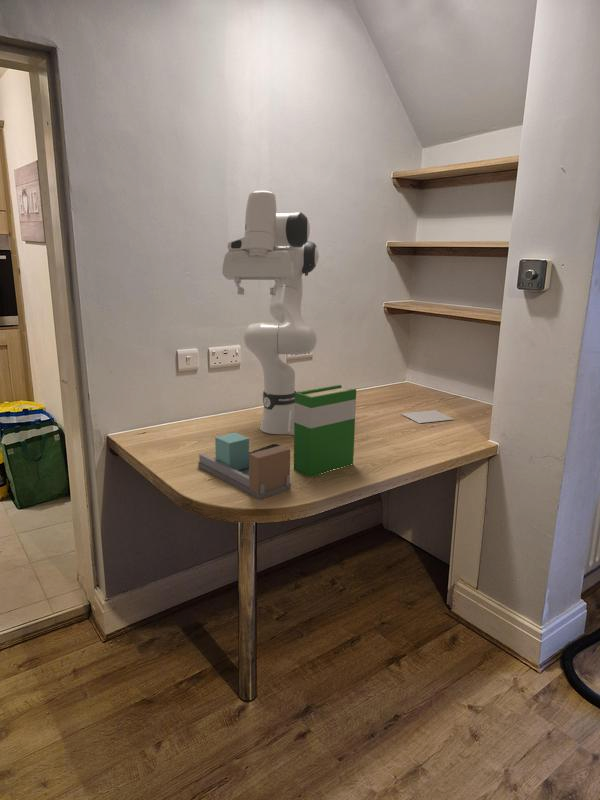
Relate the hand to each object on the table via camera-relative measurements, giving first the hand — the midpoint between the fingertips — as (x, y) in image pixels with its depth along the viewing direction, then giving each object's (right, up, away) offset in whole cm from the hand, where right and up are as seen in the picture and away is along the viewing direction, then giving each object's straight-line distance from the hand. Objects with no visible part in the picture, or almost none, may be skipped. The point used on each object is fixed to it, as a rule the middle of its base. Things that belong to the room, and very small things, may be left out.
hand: (256, 294), depth 163 cm
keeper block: (-8, -50, +7) cm, 51 cm away
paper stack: (+61, -39, +62) cm, 95 cm away
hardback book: (+20, -51, +13) cm, 56 cm away
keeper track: (-4, -52, +3) cm, 53 cm away
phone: (+2, -48, +23) cm, 53 cm away
